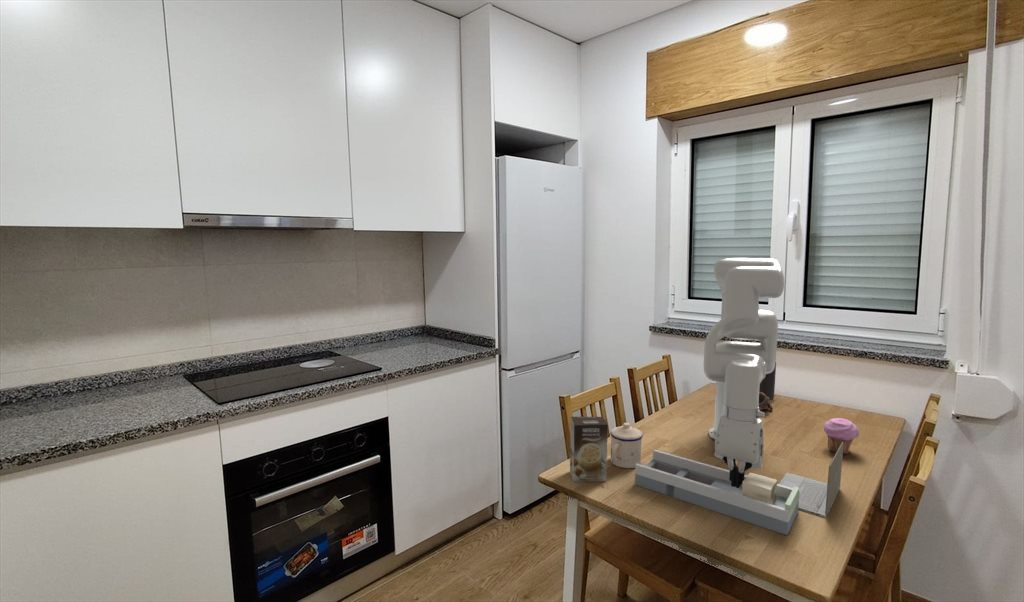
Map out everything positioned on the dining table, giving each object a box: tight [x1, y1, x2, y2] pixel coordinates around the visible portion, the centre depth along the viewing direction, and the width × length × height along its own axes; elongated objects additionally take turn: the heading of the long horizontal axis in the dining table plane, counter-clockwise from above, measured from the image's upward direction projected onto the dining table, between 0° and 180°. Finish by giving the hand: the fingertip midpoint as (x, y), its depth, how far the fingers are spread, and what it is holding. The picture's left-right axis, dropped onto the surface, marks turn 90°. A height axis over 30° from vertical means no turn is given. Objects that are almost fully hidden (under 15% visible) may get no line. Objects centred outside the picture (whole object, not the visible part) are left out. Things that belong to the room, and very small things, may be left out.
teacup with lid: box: [610, 422, 644, 469], centre depth 143 cm, size 12×9×12 cm
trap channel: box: [634, 449, 800, 536], centre depth 124 cm, size 12×36×6 cm, turn 50°
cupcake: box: [823, 417, 860, 455], centre depth 150 cm, size 9×9×10 cm
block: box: [742, 472, 778, 505], centre depth 117 cm, size 6×6×5 cm
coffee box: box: [569, 416, 609, 483], centre depth 135 cm, size 9×6×16 cm
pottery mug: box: [758, 392, 773, 413], centre depth 186 cm, size 12×9×8 cm
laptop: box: [778, 442, 844, 519], centre depth 125 cm, size 18×12×13 cm
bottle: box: [759, 362, 777, 401], centre depth 199 cm, size 7×7×20 cm
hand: (736, 485), depth 120 cm, fingers closed
